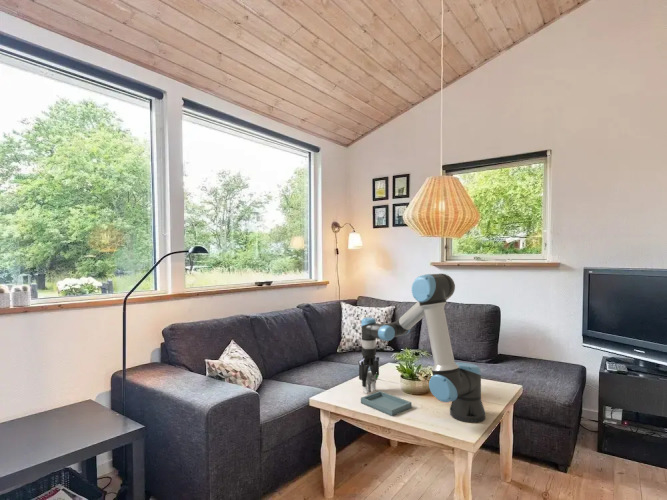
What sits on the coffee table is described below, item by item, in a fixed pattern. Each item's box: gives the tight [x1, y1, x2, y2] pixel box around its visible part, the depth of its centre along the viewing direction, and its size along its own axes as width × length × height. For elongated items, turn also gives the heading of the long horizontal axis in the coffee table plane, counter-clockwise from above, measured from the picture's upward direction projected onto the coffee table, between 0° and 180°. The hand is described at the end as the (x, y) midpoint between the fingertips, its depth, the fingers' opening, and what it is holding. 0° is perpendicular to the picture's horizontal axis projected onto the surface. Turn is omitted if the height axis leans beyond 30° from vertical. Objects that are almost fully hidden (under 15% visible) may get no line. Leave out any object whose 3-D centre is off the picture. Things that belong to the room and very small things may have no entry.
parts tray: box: [360, 390, 413, 417], centre depth 185 cm, size 20×14×3 cm
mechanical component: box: [366, 371, 379, 393], centre depth 203 cm, size 3×10×10 cm, turn 53°
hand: (369, 391), depth 203 cm, fingers open, 5 cm apart
